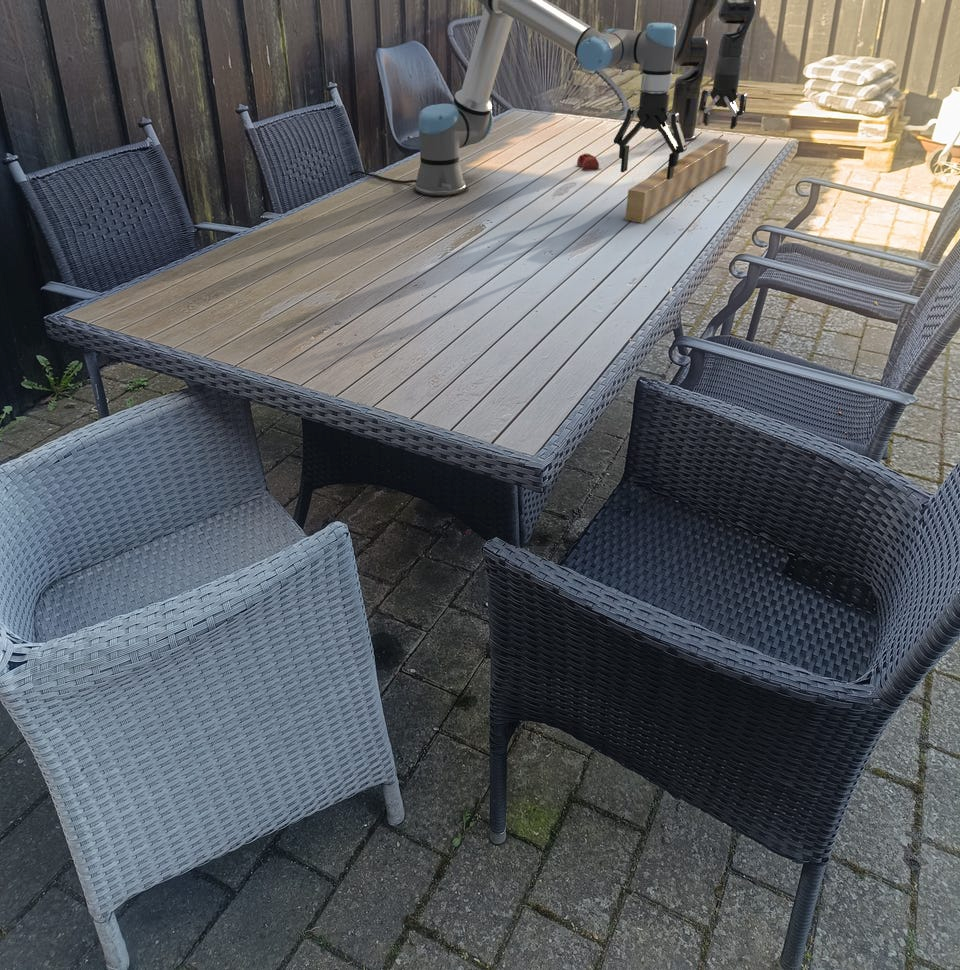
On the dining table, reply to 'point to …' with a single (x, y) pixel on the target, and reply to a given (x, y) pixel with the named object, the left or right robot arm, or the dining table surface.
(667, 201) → the bar
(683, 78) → the right robot arm
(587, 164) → the red rounded lump
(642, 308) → the dining table surface
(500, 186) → the dining table surface
